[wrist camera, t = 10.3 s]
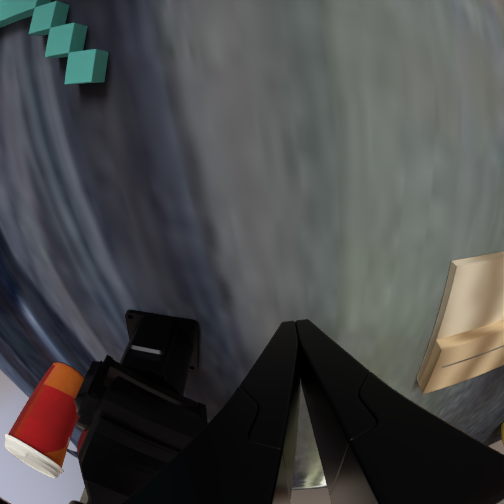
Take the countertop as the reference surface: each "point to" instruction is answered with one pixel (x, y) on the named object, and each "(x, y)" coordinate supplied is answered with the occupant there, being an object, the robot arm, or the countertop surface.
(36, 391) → the paper cup
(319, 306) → the countertop surface
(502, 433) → the flower pot
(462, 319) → the board
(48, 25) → the alien figure
